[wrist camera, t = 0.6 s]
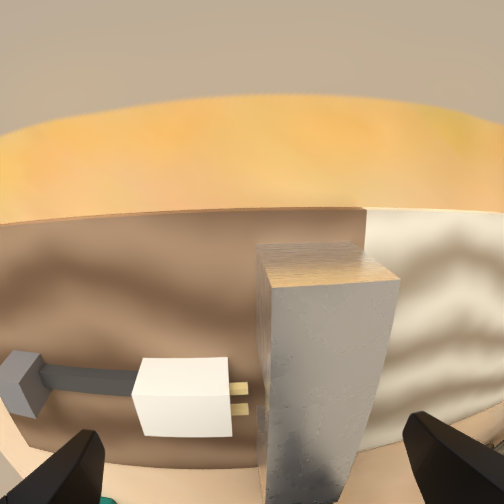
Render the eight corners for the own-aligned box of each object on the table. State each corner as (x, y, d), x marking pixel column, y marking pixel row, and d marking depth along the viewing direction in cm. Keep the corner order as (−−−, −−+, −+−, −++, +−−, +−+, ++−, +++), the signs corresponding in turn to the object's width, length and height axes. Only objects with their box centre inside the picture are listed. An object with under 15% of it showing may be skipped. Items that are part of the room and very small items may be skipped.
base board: (497, 397, 30) (501, 402, 29) (32, 440, 25) (29, 446, 24) (553, 216, 22) (559, 218, 21) (-48, 230, 18) (-55, 233, 17)
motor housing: (320, 448, 26) (337, 501, 20) (256, 455, 25) (264, 512, 19) (350, 241, 20) (400, 279, 14) (256, 244, 19) (271, 287, 13)
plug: (246, 397, 23) (250, 435, 19) (28, 385, 21) (9, 414, 18) (245, 356, 22) (249, 394, 18) (12, 347, 20) (-11, 375, 16)
